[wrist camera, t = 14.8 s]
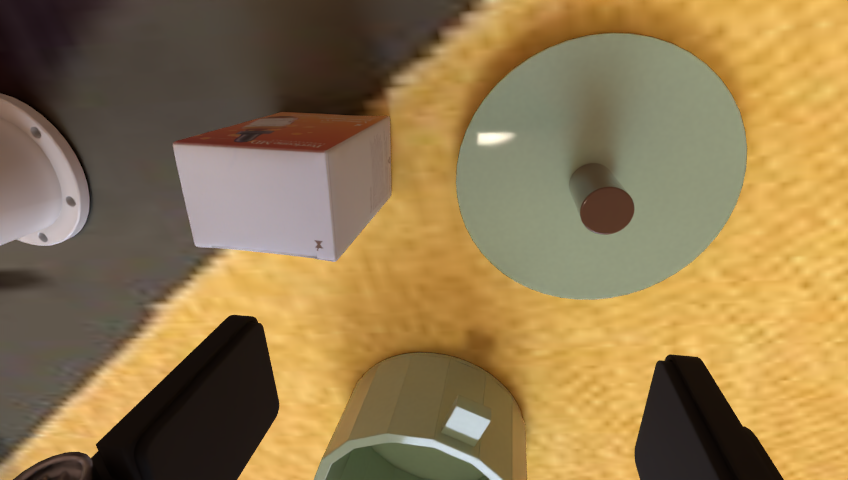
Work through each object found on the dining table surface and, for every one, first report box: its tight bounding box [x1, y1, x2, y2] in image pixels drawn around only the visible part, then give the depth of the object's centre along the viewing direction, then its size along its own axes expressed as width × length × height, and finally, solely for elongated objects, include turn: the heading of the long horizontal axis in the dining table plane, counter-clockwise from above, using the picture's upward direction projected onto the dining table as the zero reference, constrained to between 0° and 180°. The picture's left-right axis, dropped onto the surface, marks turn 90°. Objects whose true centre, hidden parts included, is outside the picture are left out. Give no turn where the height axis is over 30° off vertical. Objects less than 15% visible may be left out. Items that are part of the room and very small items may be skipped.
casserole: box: [314, 352, 527, 480], centre depth 35 cm, size 16×21×8 cm
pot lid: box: [456, 33, 747, 300], centre depth 24 cm, size 17×17×6 cm
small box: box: [173, 112, 392, 262], centre depth 25 cm, size 8×6×10 cm
